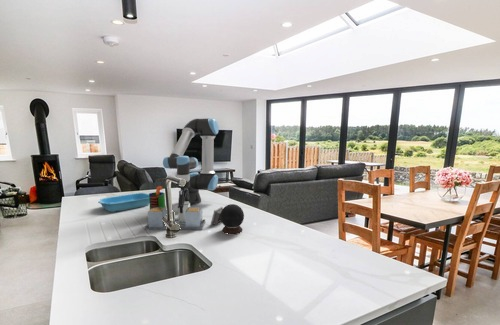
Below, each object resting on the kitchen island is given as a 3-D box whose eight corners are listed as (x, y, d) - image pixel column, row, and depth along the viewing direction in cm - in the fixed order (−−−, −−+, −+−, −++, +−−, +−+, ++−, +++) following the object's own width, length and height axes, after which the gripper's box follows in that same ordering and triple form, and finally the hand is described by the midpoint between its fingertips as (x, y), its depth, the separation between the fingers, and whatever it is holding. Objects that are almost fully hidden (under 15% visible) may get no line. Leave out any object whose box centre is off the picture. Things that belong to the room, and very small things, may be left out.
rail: (152, 223, 158) (151, 205, 157) (205, 222, 159) (204, 205, 158) (145, 229, 148) (144, 211, 146) (202, 229, 148) (201, 211, 147)
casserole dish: (145, 199, 214) (144, 190, 213) (157, 204, 198) (157, 195, 198) (94, 208, 188) (93, 199, 187) (104, 215, 172) (103, 205, 172)
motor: (146, 218, 166) (145, 187, 164) (156, 214, 175) (154, 185, 172) (160, 220, 163) (158, 189, 161) (169, 216, 171) (167, 186, 169)
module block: (180, 218, 168) (180, 201, 167) (190, 218, 168) (189, 201, 167) (178, 221, 162) (178, 204, 161) (188, 221, 162) (188, 204, 161)
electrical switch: (218, 219, 165) (219, 205, 163) (225, 221, 163) (226, 207, 161) (210, 224, 156) (211, 209, 155) (218, 226, 154) (219, 211, 153)
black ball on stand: (215, 230, 147) (215, 204, 145) (233, 224, 156) (233, 200, 154) (231, 237, 137) (230, 209, 136) (248, 230, 147) (248, 204, 145)
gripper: (182, 177, 175) (183, 208, 177) (171, 185, 150) (172, 221, 152) (193, 177, 175) (194, 208, 177) (184, 185, 150) (185, 221, 152)
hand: (184, 214), depth 165 cm, fingers open, 13 cm apart
